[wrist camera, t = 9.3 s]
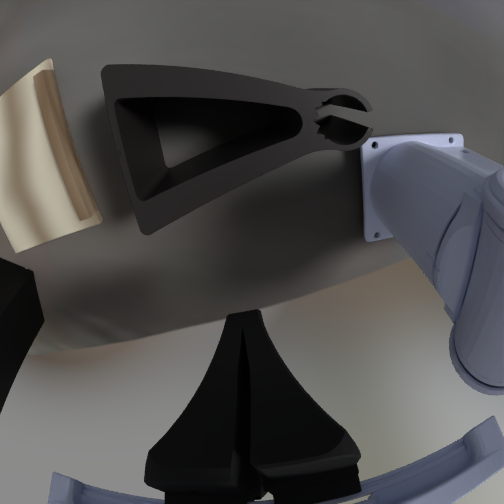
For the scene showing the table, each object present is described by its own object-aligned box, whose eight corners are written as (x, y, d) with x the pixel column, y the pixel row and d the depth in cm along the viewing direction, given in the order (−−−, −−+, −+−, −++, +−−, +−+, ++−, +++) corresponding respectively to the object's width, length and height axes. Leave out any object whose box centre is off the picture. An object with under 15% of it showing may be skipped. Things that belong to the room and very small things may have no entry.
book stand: (51, 58, 12) (40, 58, 11) (103, 220, 20) (95, 229, 18) (-28, 127, 13) (-39, 131, 12) (18, 250, 21) (10, 258, 19)
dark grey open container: (167, 195, 19) (337, 172, 19) (141, 236, 14) (372, 206, 13) (141, 72, 14) (327, 46, 14) (99, 67, 9) (364, 29, 9)
